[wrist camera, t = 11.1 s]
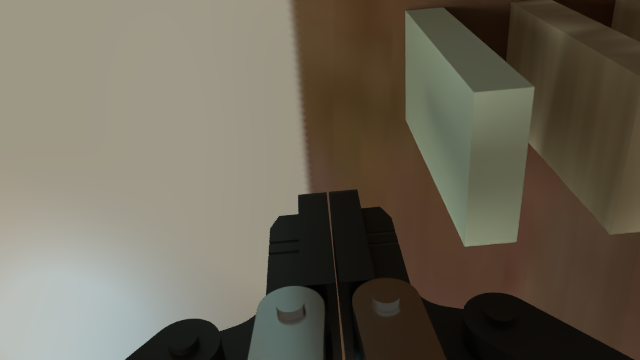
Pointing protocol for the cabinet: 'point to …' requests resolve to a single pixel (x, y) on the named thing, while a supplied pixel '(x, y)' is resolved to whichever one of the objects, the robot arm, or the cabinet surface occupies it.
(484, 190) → the domino
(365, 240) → the robot arm
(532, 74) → the domino
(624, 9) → the domino
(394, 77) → the cabinet surface
